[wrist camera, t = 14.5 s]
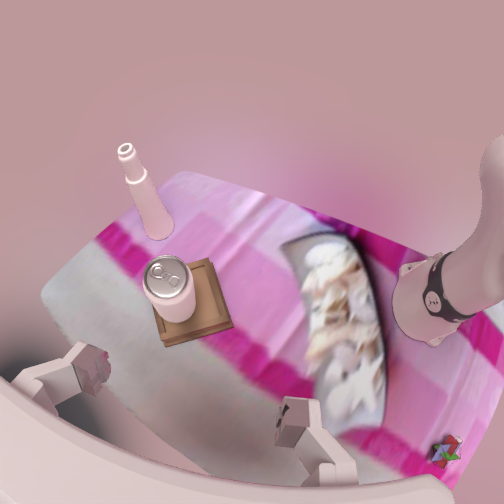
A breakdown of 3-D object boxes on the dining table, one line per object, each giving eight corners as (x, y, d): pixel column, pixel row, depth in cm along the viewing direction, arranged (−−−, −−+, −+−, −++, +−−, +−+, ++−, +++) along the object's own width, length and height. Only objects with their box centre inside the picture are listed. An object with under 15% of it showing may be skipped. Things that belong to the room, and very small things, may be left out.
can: (169, 277, 44) (158, 242, 33) (203, 297, 43) (202, 267, 33) (148, 310, 41) (129, 284, 30) (183, 331, 40) (174, 312, 30)
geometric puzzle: (446, 472, 30) (472, 455, 26) (424, 475, 31) (451, 459, 27) (442, 445, 36) (466, 427, 33) (421, 447, 37) (445, 429, 33)
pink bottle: (172, 240, 52) (139, 162, 32) (143, 240, 51) (99, 166, 31) (176, 214, 54) (149, 131, 34) (148, 214, 54) (112, 136, 34)
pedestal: (212, 264, 50) (210, 253, 46) (233, 327, 45) (232, 322, 41) (150, 283, 48) (142, 274, 44) (166, 347, 43) (158, 344, 39)
